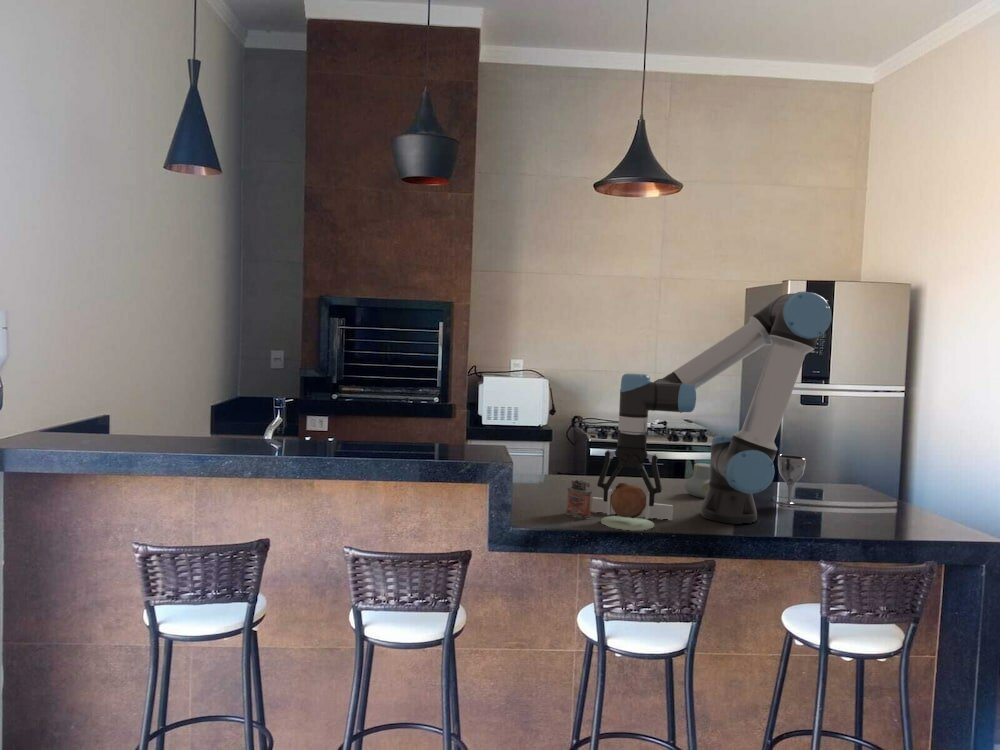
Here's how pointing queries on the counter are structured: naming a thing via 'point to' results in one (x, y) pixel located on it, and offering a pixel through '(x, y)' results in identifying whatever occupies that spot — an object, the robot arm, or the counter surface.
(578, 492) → the lighter
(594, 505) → the low wall
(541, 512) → the counter surface
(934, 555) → the counter surface
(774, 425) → the robot arm
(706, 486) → the air freshener
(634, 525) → the pad
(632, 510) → the onion
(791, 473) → the wine glass
